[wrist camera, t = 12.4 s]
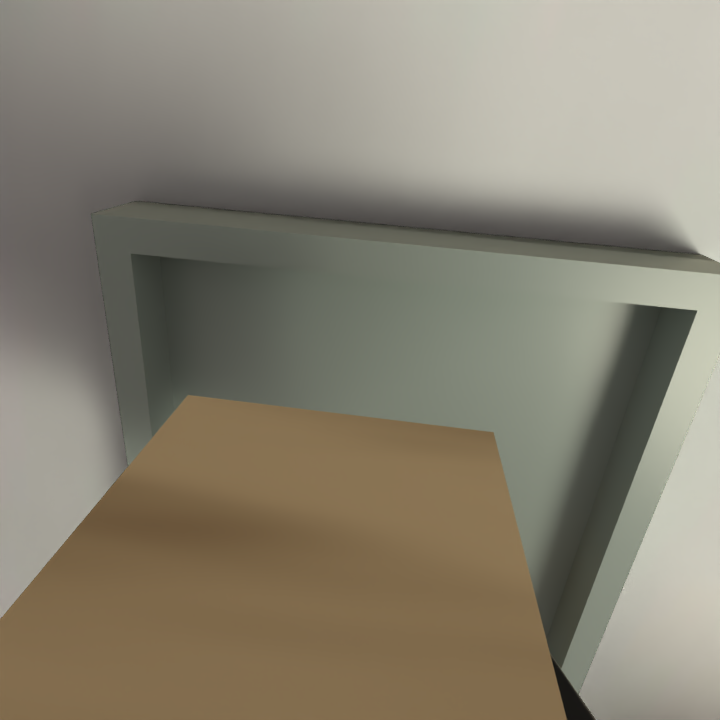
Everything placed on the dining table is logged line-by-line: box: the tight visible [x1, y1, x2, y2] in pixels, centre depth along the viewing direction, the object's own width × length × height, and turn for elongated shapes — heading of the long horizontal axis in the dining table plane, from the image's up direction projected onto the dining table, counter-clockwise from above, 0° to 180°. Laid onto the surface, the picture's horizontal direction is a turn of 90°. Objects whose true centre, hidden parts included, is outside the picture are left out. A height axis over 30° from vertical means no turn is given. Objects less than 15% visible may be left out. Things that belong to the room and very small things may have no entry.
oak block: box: [0, 395, 567, 720], centre depth 7 cm, size 5×5×5 cm
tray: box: [91, 201, 720, 694], centre depth 15 cm, size 14×16×2 cm
